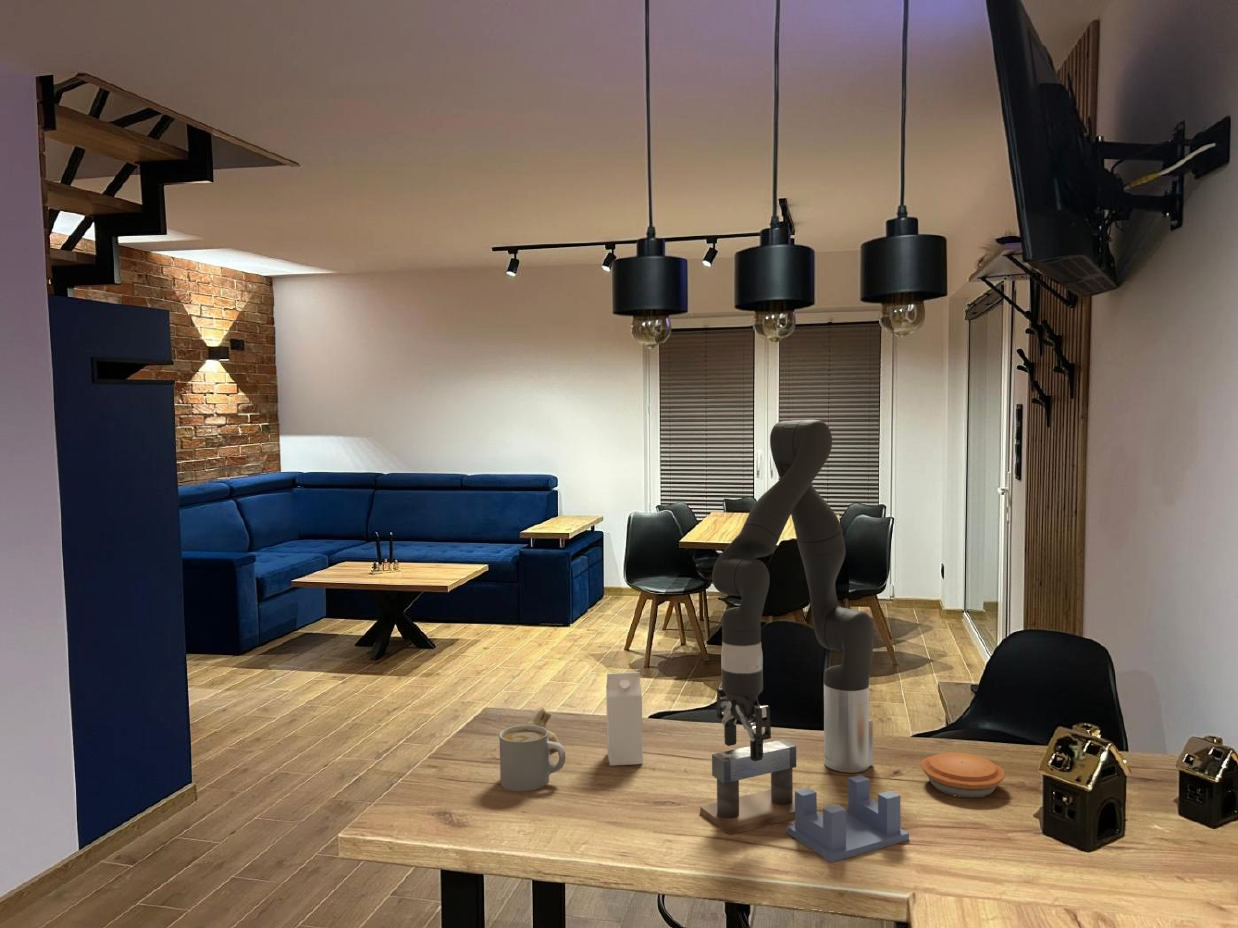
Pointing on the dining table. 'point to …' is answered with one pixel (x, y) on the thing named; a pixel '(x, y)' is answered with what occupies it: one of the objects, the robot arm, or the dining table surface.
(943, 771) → the pie
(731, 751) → the steel bar
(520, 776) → the coffee mug
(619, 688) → the milk carton
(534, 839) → the dining table surface
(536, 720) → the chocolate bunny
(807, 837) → the notched cradle
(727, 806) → the stand
